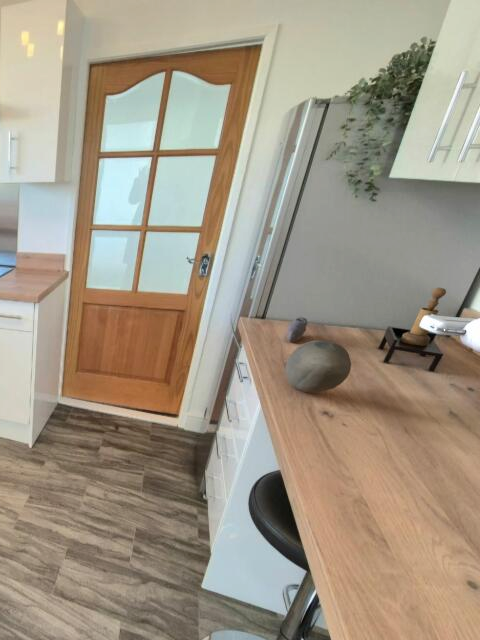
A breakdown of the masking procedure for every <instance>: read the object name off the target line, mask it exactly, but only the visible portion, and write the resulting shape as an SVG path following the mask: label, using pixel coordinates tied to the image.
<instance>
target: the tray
mask: <svg viewBox="0 0 480 640" xmlns="http://www.w3.org/2000/svg"><path fill="white" fill-rule="evenodd" d="M409 331H411V329H409V328H403V327H396V326H395V327H394V326H387V328H386V330H385V332H384V335H383V336H382V339H381V341H380V343H379V345H378V350H384V349H385V347H386V344H387V345H388V350H387V353H386V355H385V356H384V358H383V360H382V361H383V363H384V364H389V363H390V361H391V359H392V357H393V354H394V353H395V351H400V352H405V353H411V354H416V355H417V354H418V355H419V356H420V357H424V358H425V357H426V356H427V357H429V356H430V357H433V359H432V362H431V363H430V364H429V367H428V368H427V371H428V372H433V373H434V372H435V370H436V369H437V367H438V365H439V364H440V361H441V360H442V358H443V356H444V353H443V351H442V350H441V349H440V347H439V346H438V344H437V343H436V341H435V338H436V336H437V334H436V333H433V332H430V331H428V333H427V335H428V336H429V337H430V341H429V343H428V345H426V346H418V345H412V344H407V343H404V342H402V341H401V338H402V336H403V334H404V333H406V332H409Z"/></svg>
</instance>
